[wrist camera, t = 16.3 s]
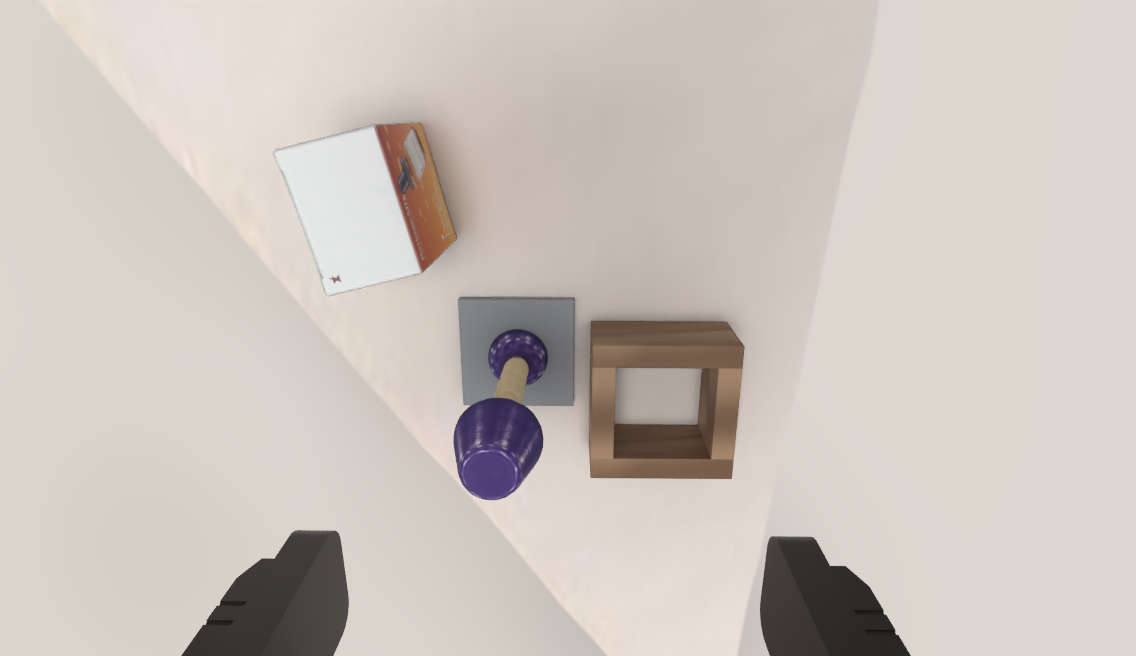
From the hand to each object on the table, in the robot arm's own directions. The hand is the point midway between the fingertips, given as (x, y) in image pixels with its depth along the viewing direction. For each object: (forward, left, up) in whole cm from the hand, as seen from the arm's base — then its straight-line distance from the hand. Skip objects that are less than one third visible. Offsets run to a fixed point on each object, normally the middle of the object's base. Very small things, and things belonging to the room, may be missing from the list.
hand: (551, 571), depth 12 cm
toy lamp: (+8, -3, -33) cm, 34 cm away
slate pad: (+8, -4, -34) cm, 35 cm away
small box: (-3, -11, -34) cm, 36 cm away
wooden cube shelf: (+11, +6, -34) cm, 36 cm away
